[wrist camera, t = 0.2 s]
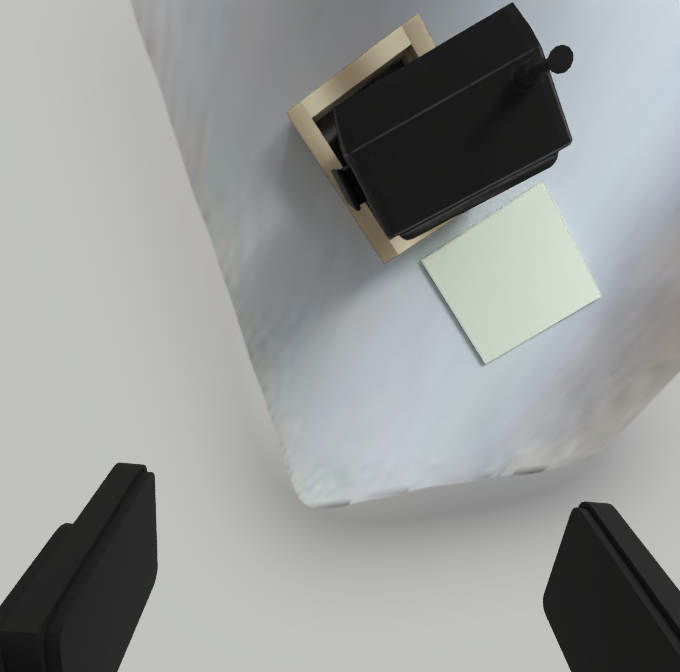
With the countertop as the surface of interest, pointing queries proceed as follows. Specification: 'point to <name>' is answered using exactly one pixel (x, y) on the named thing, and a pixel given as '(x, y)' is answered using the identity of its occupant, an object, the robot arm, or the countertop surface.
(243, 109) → the countertop surface
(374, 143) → the portable radio
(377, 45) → the wooden pocket
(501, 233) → the rubber mat
